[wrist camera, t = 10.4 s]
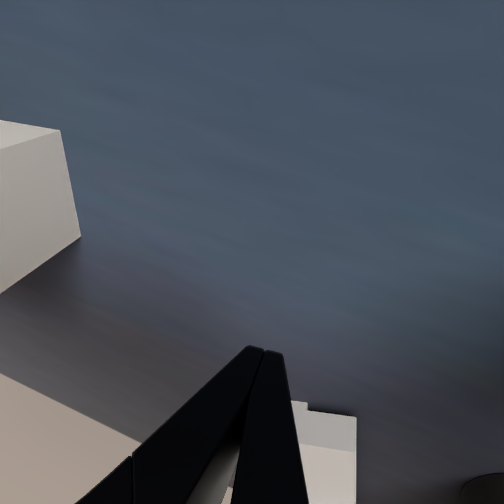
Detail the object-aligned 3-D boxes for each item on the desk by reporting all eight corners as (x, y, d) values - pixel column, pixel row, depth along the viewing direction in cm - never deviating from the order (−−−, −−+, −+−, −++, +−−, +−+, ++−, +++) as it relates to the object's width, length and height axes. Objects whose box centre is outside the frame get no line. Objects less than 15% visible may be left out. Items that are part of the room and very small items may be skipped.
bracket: (356, 500, 32) (354, 612, 26) (279, 484, 34) (261, 584, 28) (356, 405, 26) (355, 523, 20) (262, 393, 28) (234, 496, 22)
